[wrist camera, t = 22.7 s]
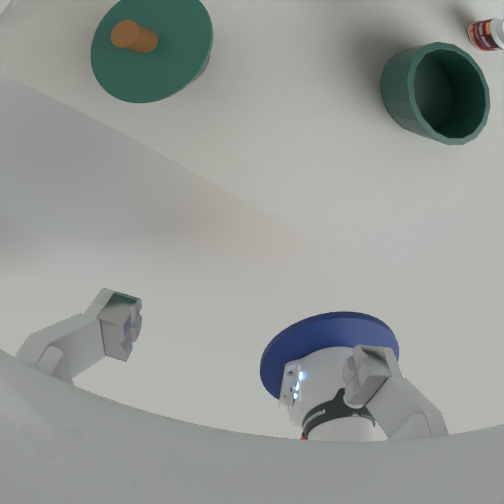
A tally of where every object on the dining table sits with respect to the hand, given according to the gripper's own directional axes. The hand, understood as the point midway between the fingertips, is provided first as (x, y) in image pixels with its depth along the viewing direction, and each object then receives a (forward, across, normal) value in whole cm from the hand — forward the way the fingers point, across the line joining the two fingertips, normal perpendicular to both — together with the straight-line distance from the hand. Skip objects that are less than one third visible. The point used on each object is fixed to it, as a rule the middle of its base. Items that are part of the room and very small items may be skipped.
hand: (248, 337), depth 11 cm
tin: (+31, -18, -16) cm, 39 cm away
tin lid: (+22, +14, -12) cm, 29 cm away
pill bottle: (+32, -26, -30) cm, 50 cm away
